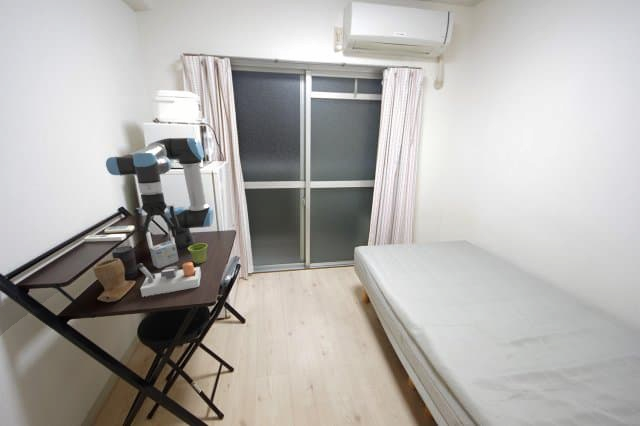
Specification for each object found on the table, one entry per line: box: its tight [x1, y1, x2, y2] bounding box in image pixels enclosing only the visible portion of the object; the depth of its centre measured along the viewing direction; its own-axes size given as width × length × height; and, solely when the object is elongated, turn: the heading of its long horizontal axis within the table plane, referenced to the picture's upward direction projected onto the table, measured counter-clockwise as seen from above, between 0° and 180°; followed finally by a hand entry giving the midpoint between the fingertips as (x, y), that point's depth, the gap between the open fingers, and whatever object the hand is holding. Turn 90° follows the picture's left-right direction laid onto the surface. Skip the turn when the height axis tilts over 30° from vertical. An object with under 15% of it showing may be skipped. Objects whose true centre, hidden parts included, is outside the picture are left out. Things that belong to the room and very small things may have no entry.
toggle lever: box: [137, 262, 154, 278], centre depth 112 cm, size 3×2×9 cm
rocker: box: [160, 265, 179, 277], centre depth 115 cm, size 9×5×2 cm, turn 20°
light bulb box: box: [149, 240, 179, 270], centre depth 136 cm, size 11×7×11 cm, turn 145°
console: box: [139, 266, 202, 298], centre depth 117 cm, size 12×22×6 cm, turn 110°
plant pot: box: [187, 242, 208, 265], centre depth 138 cm, size 9×9×9 cm
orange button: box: [182, 261, 195, 278], centre depth 118 cm, size 4×4×6 cm
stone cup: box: [93, 258, 136, 303], centre depth 109 cm, size 15×12×15 cm
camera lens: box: [111, 245, 139, 281], centre depth 122 cm, size 8×8×15 cm
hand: (162, 245), depth 108 cm, fingers open, 8 cm apart
